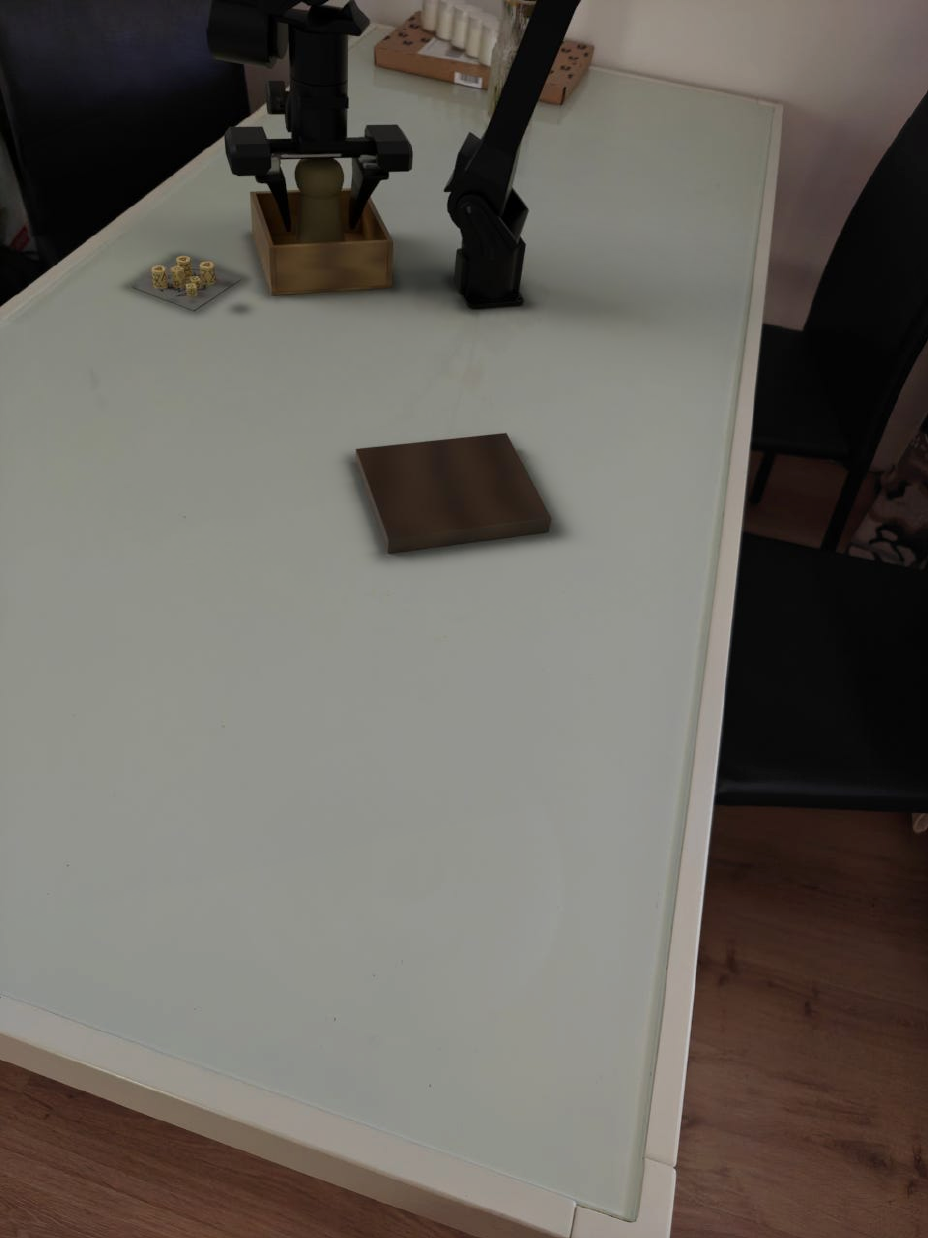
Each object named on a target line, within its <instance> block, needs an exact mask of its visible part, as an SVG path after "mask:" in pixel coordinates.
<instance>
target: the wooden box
mask: <svg viewBox="0 0 928 1238" xmlns="http://www.w3.org/2000/svg"><path fill="white" fill-rule="evenodd" d="M350 190H351V187H344V188H343V187H342V190H341V191H340V192H339V198H340V205H341V213H342V221H343V228H344V236H345V242H329V243H309V244H295V238H296V228H297V218H298V208H299V199H300V190H299V189H287V194H288V202H289V210H290V217H291V232H287V231H286V228H285V225H284V222H283V220H282V217H281V214H280V211H279V208H278V205H277V202H276V200H275V198H274V197H273V195H272V193H271V191H270V190H260V191H259V190H255V191H254V190H253V191H249V201H250V202H249V203H250V214H251V233H252V239H253V243H254V245H255V249H256V252H257V255H258V258H259V261H260V264H261V267H262V270H263V273H264V277H265V279H266V283H267V286H268V289H269V292H270V295H271V296H282V295H298V294H313V293H314V294H315V293H329V292H344V291H346V292H347V291H360V290H361V291H362V290H374V289H375V290H376V289H377V290H378V289H391V288H392V287H393V264H394V244H395V243H394V240H393V238H392V236H391V234H390V232H389V230H388V228H387V226H386V224H385V222H384V221H383V219H382V216H381V214H380V212H379V211H378V208H377V207H376V204H375V202H374V201H373V199H372V196H370V198H369V200H368V201H367V203H366V205H365V207H364V210H363V212H362V214H361V216H360V218H359V220H358V222H357V224H356V226H355V228H354V229H352V230H351V229H350V227H349V217H348V211H349V200H350Z"/></svg>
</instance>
